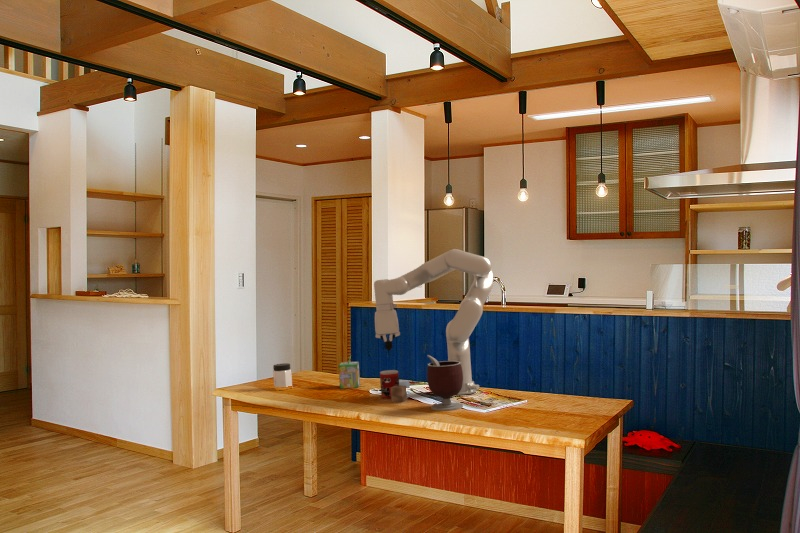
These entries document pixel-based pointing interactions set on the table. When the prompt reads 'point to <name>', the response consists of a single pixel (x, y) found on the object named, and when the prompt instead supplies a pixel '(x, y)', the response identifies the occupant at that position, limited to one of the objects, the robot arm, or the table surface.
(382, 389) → the canned food
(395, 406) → the table surface
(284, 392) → the table surface
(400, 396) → the walnut block
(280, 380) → the jar
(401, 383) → the slate block
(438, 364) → the mate gourd
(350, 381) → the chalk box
